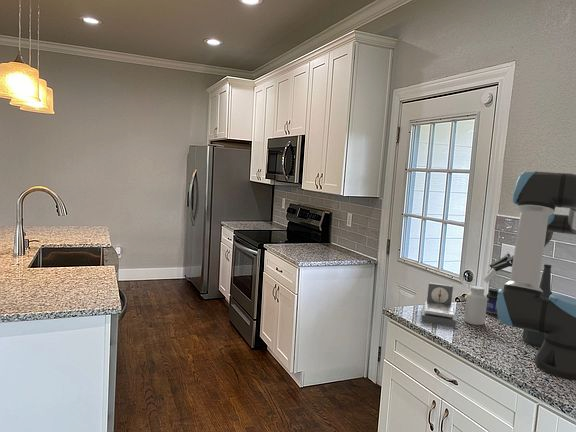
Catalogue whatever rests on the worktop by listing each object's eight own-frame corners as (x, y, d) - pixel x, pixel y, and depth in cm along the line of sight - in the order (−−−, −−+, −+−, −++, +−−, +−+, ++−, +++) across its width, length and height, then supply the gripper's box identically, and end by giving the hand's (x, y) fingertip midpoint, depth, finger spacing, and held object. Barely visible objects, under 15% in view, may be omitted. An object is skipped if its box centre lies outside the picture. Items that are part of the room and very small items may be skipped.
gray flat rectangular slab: (453, 317, 175) (453, 314, 175) (424, 313, 179) (425, 310, 179) (452, 308, 189) (452, 305, 188) (425, 304, 192) (425, 301, 192)
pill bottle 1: (459, 319, 186) (463, 285, 185) (475, 318, 189) (479, 284, 187) (472, 326, 179) (477, 290, 177) (488, 325, 181) (492, 290, 180)
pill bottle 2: (481, 311, 200) (484, 288, 199) (490, 310, 203) (492, 287, 202) (493, 316, 195) (496, 292, 194) (502, 314, 198) (505, 291, 197)
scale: (455, 327, 175) (458, 296, 174) (421, 322, 179) (424, 291, 178) (453, 315, 192) (456, 286, 191) (422, 310, 196) (425, 281, 195)
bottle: (550, 341, 167) (561, 264, 164) (555, 350, 158) (567, 269, 155) (520, 336, 170) (530, 260, 168) (523, 344, 161) (534, 264, 159)
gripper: (558, 262, 178) (525, 299, 175) (509, 251, 202) (479, 283, 199) (550, 249, 176) (516, 286, 173) (502, 239, 200) (471, 271, 196)
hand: (496, 284), depth 186 cm, fingers open, 13 cm apart
